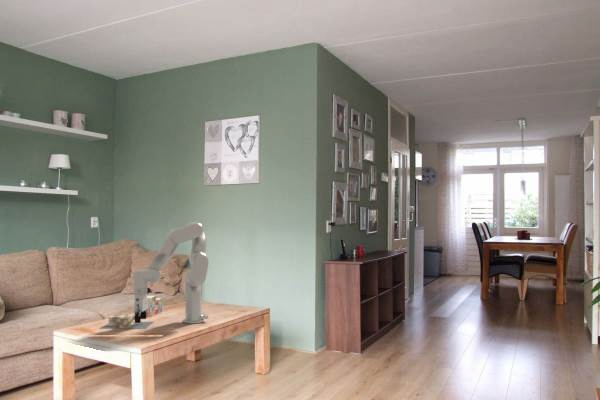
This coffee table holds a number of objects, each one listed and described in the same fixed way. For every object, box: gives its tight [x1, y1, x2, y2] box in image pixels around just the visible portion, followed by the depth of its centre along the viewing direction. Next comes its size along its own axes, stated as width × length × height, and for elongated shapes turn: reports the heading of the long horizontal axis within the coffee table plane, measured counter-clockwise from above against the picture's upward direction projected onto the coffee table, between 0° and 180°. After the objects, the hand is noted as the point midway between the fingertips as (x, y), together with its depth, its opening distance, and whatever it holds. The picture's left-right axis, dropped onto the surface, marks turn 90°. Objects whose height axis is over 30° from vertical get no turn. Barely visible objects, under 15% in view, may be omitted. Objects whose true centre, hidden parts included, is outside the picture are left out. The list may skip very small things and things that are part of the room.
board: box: [99, 321, 155, 330], centre depth 288 cm, size 26×18×1 cm
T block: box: [108, 313, 134, 328], centre depth 288 cm, size 12×12×5 cm
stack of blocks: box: [138, 295, 163, 318], centre depth 321 cm, size 21×6×12 cm, turn 171°
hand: (140, 320), depth 288 cm, fingers open, 9 cm apart
